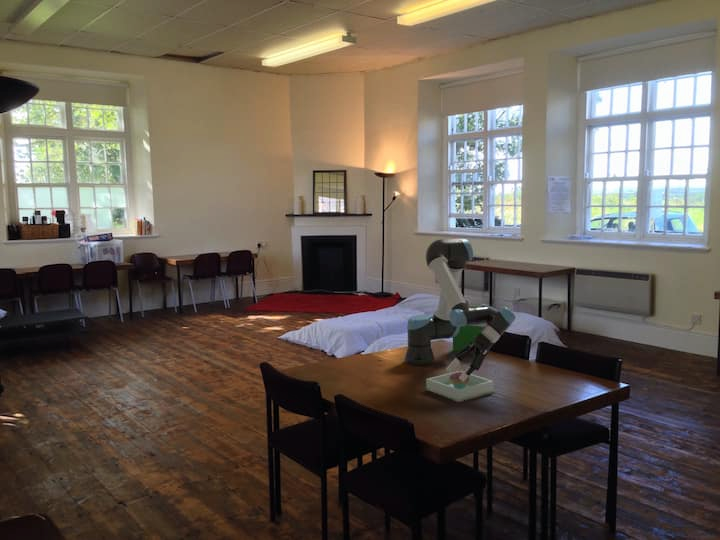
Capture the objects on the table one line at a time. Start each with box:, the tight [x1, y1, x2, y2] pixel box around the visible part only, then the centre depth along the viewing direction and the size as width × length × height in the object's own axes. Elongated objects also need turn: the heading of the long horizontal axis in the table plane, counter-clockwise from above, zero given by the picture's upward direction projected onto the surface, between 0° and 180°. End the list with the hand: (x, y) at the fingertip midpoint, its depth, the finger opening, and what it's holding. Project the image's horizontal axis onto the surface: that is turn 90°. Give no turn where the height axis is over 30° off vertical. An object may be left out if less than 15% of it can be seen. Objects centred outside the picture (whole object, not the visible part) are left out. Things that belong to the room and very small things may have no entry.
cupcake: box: [450, 363, 470, 389], centre depth 260 cm, size 9×8×12 cm
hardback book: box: [452, 305, 490, 353], centre depth 327 cm, size 18×7×24 cm, turn 58°
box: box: [425, 370, 494, 403], centre depth 261 cm, size 20×20×5 cm
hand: (454, 375), depth 260 cm, fingers open, 13 cm apart
